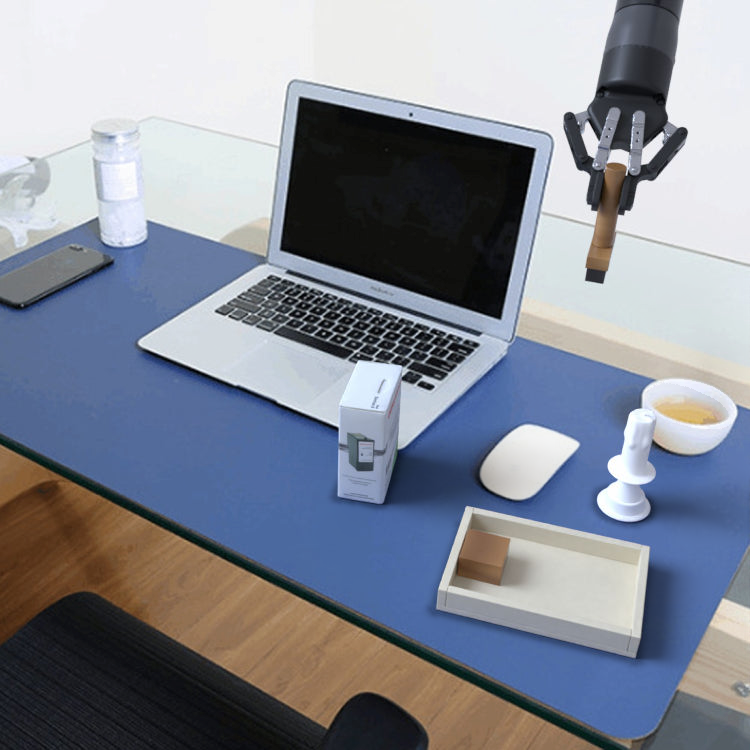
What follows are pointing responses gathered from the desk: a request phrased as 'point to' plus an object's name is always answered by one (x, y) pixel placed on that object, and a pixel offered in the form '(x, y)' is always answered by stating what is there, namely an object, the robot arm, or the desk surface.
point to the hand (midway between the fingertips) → (608, 210)
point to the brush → (605, 223)
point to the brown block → (483, 557)
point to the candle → (631, 471)
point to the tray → (554, 583)
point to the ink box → (369, 431)
